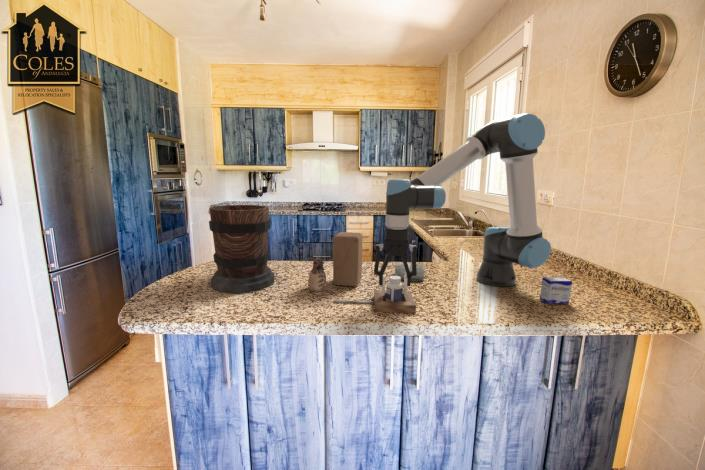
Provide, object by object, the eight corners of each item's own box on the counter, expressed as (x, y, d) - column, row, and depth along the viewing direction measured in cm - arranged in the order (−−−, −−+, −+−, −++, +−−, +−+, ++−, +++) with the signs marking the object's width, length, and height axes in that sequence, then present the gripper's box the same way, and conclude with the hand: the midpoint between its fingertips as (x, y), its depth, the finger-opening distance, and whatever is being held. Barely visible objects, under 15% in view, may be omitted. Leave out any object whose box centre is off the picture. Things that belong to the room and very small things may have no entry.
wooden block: (357, 287, 126) (358, 237, 122) (332, 285, 128) (332, 235, 124) (361, 279, 136) (362, 232, 132) (338, 277, 138) (338, 231, 134)
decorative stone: (424, 276, 143) (425, 262, 142) (423, 283, 133) (424, 269, 132) (394, 273, 146) (395, 260, 145) (391, 280, 136) (392, 266, 135)
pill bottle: (403, 303, 112) (404, 275, 110) (400, 308, 107) (401, 280, 105) (387, 300, 114) (388, 274, 112) (384, 306, 109) (385, 278, 107)
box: (547, 304, 112) (550, 281, 111) (539, 299, 117) (542, 276, 115) (569, 304, 113) (572, 280, 111) (560, 299, 117) (563, 276, 116)
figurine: (330, 287, 126) (330, 257, 124) (321, 293, 120) (320, 261, 118) (314, 284, 129) (314, 255, 127) (304, 289, 123) (304, 259, 121)
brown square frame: (410, 297, 117) (410, 291, 116) (415, 312, 104) (416, 305, 103) (335, 295, 118) (335, 288, 117) (331, 310, 105) (331, 302, 104)
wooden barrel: (204, 294, 116) (198, 211, 111) (221, 270, 145) (217, 203, 139) (272, 291, 121) (270, 210, 115) (276, 268, 149) (274, 203, 144)
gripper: (425, 226, 109) (421, 291, 113) (366, 224, 110) (365, 289, 114) (429, 230, 101) (425, 299, 106) (366, 228, 102) (365, 297, 107)
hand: (394, 294), depth 110 cm, fingers open, 7 cm apart
